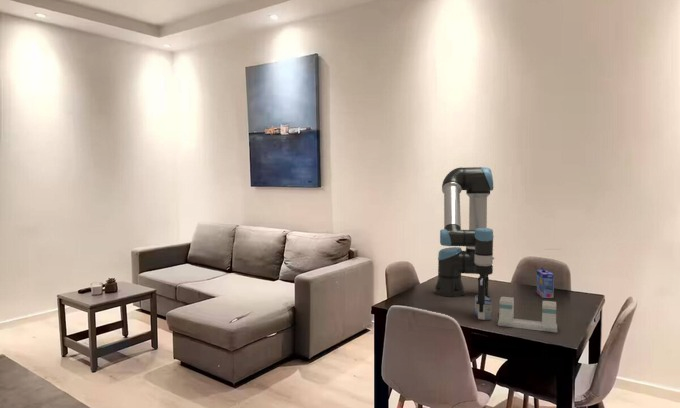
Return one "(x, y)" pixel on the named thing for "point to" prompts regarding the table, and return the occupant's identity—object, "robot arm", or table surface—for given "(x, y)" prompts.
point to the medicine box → (487, 307)
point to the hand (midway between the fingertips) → (482, 315)
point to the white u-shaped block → (508, 320)
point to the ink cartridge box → (545, 283)
